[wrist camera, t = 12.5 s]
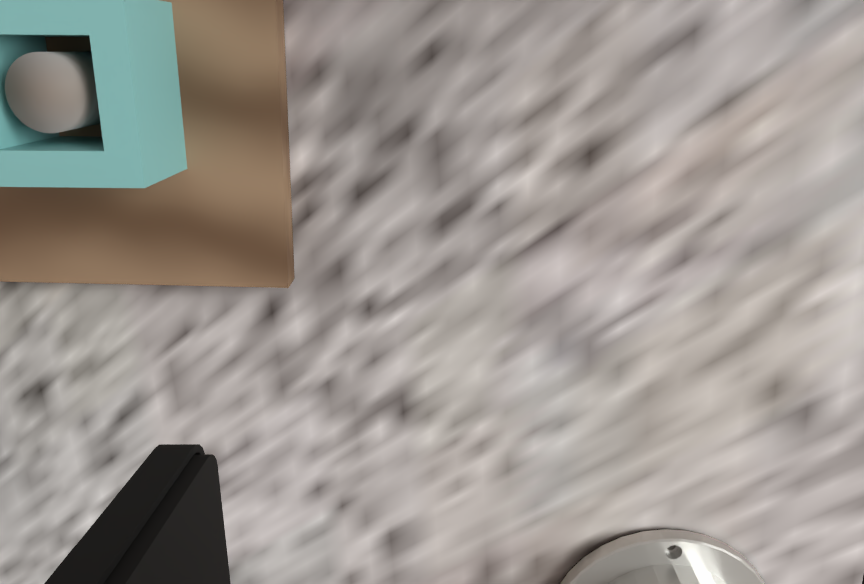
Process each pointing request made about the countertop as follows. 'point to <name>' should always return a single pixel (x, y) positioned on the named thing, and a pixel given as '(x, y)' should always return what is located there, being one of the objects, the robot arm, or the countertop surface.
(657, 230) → the countertop surface
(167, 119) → the teal square scoop
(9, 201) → the post base
